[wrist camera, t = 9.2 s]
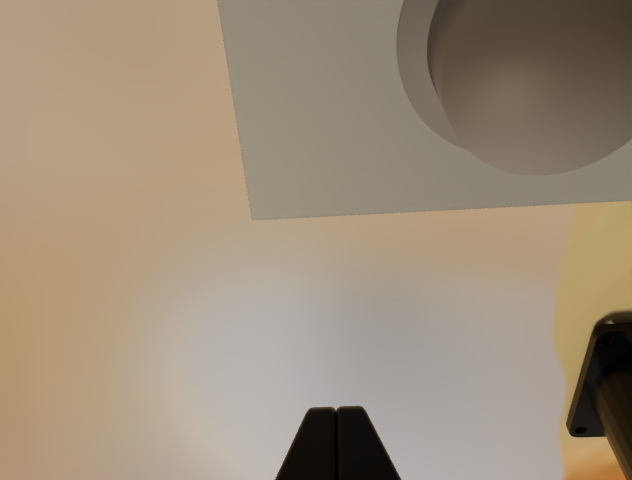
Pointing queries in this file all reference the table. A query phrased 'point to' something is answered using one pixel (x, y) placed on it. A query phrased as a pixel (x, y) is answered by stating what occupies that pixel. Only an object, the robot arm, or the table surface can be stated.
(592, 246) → the table surface
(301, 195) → the stand base
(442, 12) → the cam lever
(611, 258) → the table surface
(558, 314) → the table surface
